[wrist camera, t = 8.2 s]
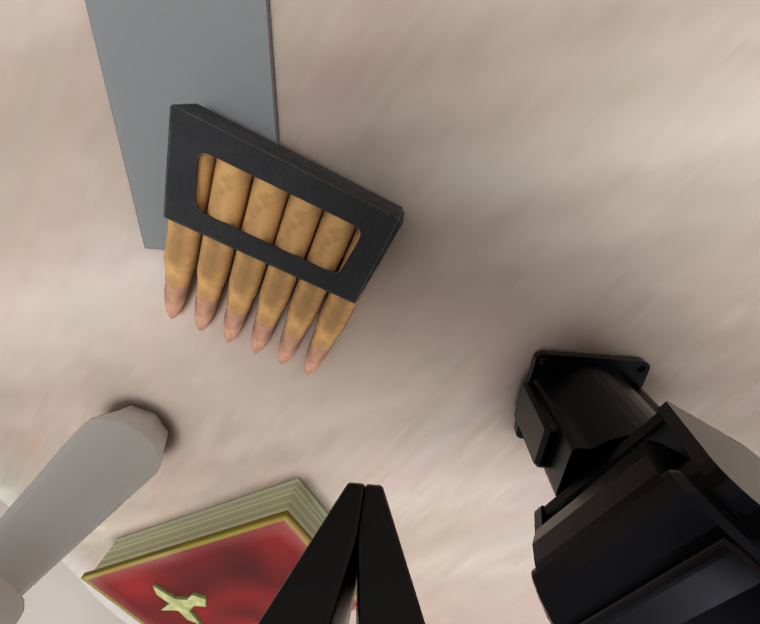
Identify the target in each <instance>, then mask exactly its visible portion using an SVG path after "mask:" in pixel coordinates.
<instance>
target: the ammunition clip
mask: <svg viewBox="0 0 760 624" xmlns="http://www.w3.org/2000/svg"><path fill="white" fill-rule="evenodd" d="M250 191H251V192H250ZM289 194H290V196H289ZM249 195H250V196H249ZM288 197H289V199H288ZM248 199H249V201H248ZM287 200H288V202H287ZM247 203H248V205H247ZM286 204H287V205H286ZM246 207H247V209H246ZM285 207H286V209H285ZM284 210H285V212H284ZM323 210H324V213H323V216H322V218H321V215H322V212H323ZM245 211H246V213H245ZM283 213H284V215H283ZM163 216H164V217H165V218H167V219H168V227H167V236H166V244H165V253H164V261H165V267H166V274H165V306H166V310H167V313H168V315H169V317H170V318H171V319H174V318H175V317H176V316H177V315H178V314H179V312H180V310H181V309H182V307H183V305H184V303H185V300H186V297H187V294H188V289H189V284H190V282H191V278H192V274H193V272H194V269H195V267H196V265H197V263H198V265H197V280H198V282H197V290H196V300H195V321H196V325H197V327H198V329H199V330H200V331H202V330H203V329H205V328H206V326H207V325H208V324H209V322H210V321H211V319H212V317H213V315H214V313H215V310H216V308H217V304H218V301H219V298H220V295H221V292H222V289H223V286H224V284H225V282H226V281H227V279H228V277H229V273H230V270H231V266H232V262H233V258H234V254H235V250H236V254H235V258H234V262H233V266H232V270H231V275H230V279H229V295H228V300H227V308H226V312H225V318H224V335H225V339H226V341H227V342H231V341H232V340H233V339H234V338H235V337H236V336H237V334H238V333H239V331H240V330H241V328H242V326H243V324H244V322H245V319H246V316H247V313H248V311H249V309H250V306H251V304H252V301H253V299H254V298H255V296H256V294H257V293H258V290H259V288H260V285H261V282H262V279H263V275H264V272H265V269H266V266H267V264H268V267H267V270H266V274H265V277H264V280H263V284H262V287H261V290H260V293H259V299H258V309H257V313H256V319H255V322H254V326H253V331H252V340H251V341H252V350H253V352H254V353H258V352H259V351H260V350H261V349H262V348H263V347H264V346H265V344H266V343H267V342H268V340H269V338H270V336H271V334H272V333H273V330H274V328H275V325H276V323H277V322H278V319H279V317H280V315H281V313H282V312H283V310H284V309H285V307H286V306H287V304H288V301H289V298H290V296H291V293H292V291H293V288H294V285H295V283H296V280H297V278H299V280H298V283H297V286H296V288H295V291H294V294H293V296H292V299H291V302H290V305H289V308H288V314H287V320H286V323H285V326H284V331H283V333H282V336H281V340H280V344H279V350H278V359H279V363H280V364H283V363H285V362H286V361H287V360H288V359H289V358H290V357H291V356H292V355H293V354H294V352H295V351H296V349H297V347H298V346H299V344H300V342H301V340H302V338H303V336H304V335H305V333H306V331H307V329H308V327H309V325H310V324H311V323H312V321H313V320H314V319H315V317H316V315H317V313H318V311H319V308H320V306H321V304H322V302H323V300H324V297H325V295H326V293H327V291H328V292H329V293H328V295H327V297H326V300H325V302H324V304H323V306H322V309H321V311H320V313H319V316H318V318H317V323H316V328H315V331H314V334H313V336H312V340H311V343H310V345H309V347H308V350H307V354H306V358H305V364H304V371H305V374H306V375H308V374H310V373H312V372H313V371H314V370H315V369H316V368H317V367H318V366H319V365H320V363H321V362H322V360H323V359H324V358H325V356H326V354H327V352H328V351H329V349H330V348H331V346H332V344H333V343H334V341H335V339H336V338H337V337H338V336H339V334H340V333H341V332H342V330H343V329H344V327H345V325H346V323H347V321H348V319H349V317H350V316H351V314H352V312H353V310H354V308H355V306H356V304H357V302H358V300H359V298H360V296H361V294H362V292H363V290H364V288H365V287H366V285H367V283H368V281H369V280H370V278H371V276H372V275H373V273H374V271H375V269H376V268H377V266H378V264H379V263H380V261H381V259H382V257H383V256H384V254H385V252H386V251H387V249H388V247H389V246H390V244H391V242H392V240H393V239H394V237H395V235H396V234H397V232H398V230H399V228H400V227H401V225H402V223H403V217H404V212H403V210H402V207H400V206H398V205H396V204H394V203H392V202H390V201H388V200H386V199H384V198H382V197H380V196H378V195H376V194H374V193H372V192H370V191H368V190H366V189H364V188H362V187H360V186H358V185H356V184H354V183H352V182H350V181H348V180H347V179H345V178H343V177H341V176H339V175H337V174H335V173H333V172H331V171H329V170H327V169H325V168H323V167H321V166H319V165H317V164H315V163H313V162H311V161H309V160H307V159H305V158H303V157H301V156H299V155H297V154H295V153H293V152H291V151H289V150H287V149H285V148H283V147H281V146H279V145H278V144H276V143H274V142H272V141H270V140H268V139H266V138H264V137H262V136H260V135H258V134H256V133H254V132H252V131H250V130H248V129H246V128H244V127H242V126H240V125H238V124H236V123H234V122H232V121H230V120H228V119H226V118H224V117H222V116H220V115H218V114H216V113H214V112H212V111H211V110H209V109H207V108H205V107H203V106H201V105H199V104H197V103H195V104H173V105H171V106H170V117H169V133H168V149H167V165H166V182H165V198H164V214H163ZM282 216H283V218H282ZM320 218H321V221H320V224H319V226H318V229H317V232H316V234H315V237H314V240H313V243H312V245H310V244H311V241H312V239H313V236H314V233H315V231H316V228H317V225H318V223H319V220H320ZM281 219H282V222H281ZM280 222H281V225H280ZM279 225H280V228H279ZM356 227H357V229H356V231H355V228H356ZM278 229H279V230H278ZM354 231H355V233H354ZM353 233H354V236H353V238H352V240H351V237H352V235H353ZM350 240H351V243H350V245H349V247H348V249H347V252H346V254H345V256H344V258H342V257H343V255H344V253H345V251H346V248H347V246H348V244H349V242H350ZM198 259H199V260H198Z"/></svg>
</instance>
